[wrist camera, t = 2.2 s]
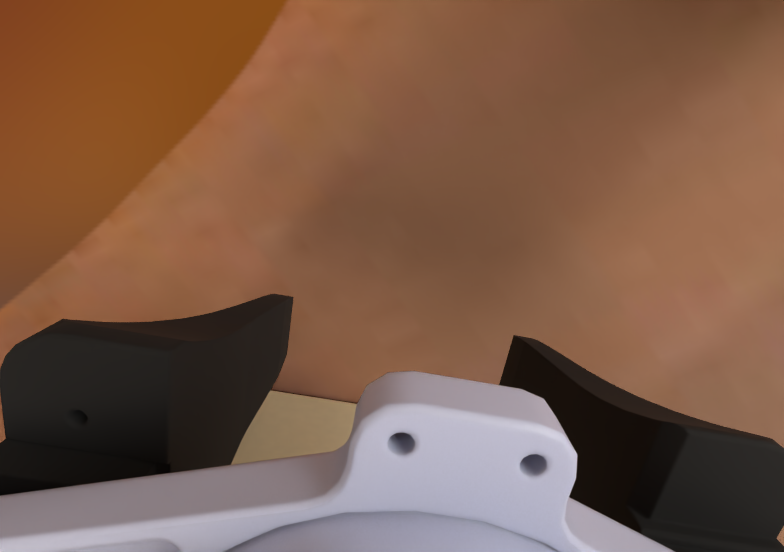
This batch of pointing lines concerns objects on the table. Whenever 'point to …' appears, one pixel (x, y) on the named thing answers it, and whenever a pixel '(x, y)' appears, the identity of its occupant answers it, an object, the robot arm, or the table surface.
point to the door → (295, 427)
